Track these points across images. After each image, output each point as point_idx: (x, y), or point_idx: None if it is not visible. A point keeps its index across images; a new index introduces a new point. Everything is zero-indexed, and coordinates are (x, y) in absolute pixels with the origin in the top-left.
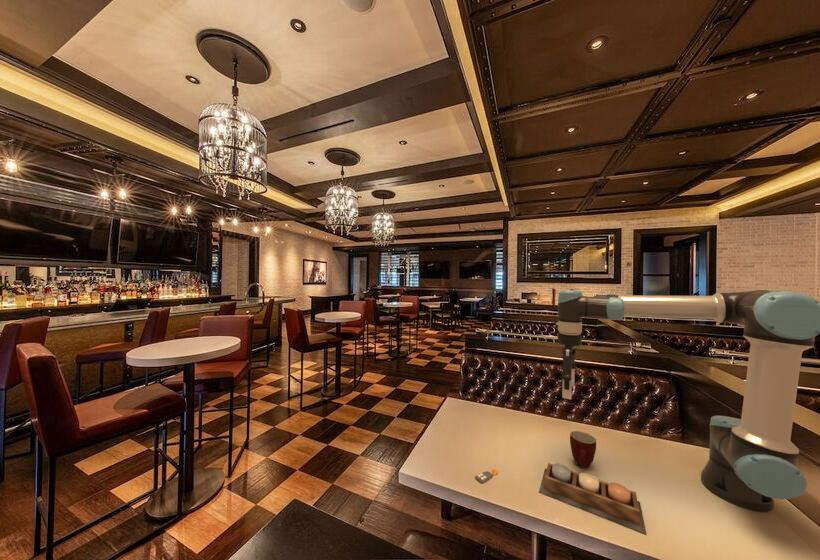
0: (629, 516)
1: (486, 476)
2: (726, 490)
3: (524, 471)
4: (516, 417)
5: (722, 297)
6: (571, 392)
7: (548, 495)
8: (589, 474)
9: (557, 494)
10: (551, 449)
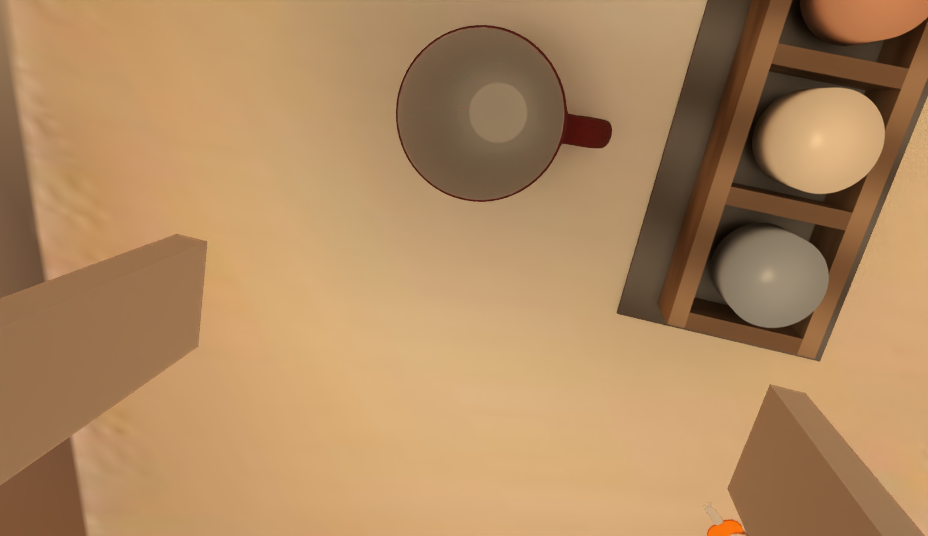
0: None
1: None
2: None
3: (672, 408)
4: (146, 411)
5: None
6: (822, 443)
7: (835, 322)
8: (782, 129)
9: None
10: (412, 257)
